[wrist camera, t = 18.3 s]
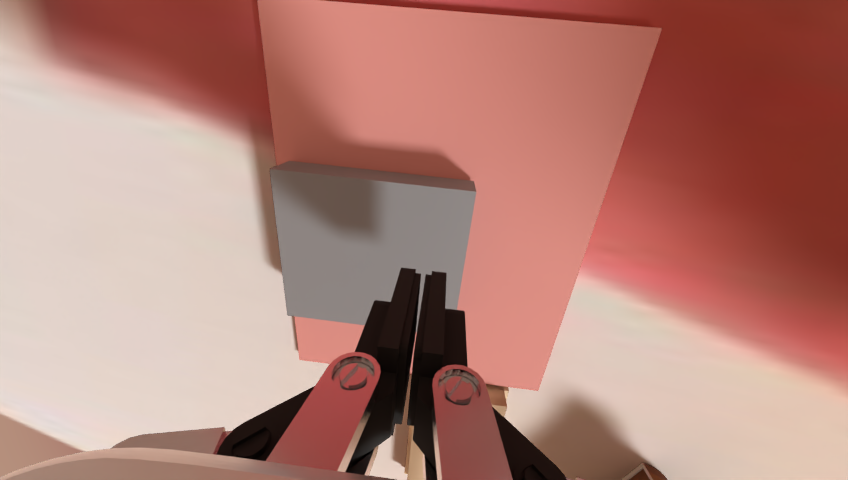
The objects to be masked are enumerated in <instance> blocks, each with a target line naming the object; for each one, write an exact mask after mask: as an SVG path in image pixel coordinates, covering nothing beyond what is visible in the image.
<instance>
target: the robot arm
mask: <svg viewBox="0 0 848 480" xmlns="http://www.w3.org/2000/svg"><path fill="white" fill-rule="evenodd" d="M446 277H447V273H445V272H436V271H432V275H428V274H426V276H425V282H424V289H423V295H422V302H421V308H420V315H419V321H418V328H417V334H416V325H417V314H418V303H419V293H420V282H421V274H420V273H416V269H410V268H402V267H401V269H400V273H399V276H398V279H397V283H396V286H395V289H394V293H393V296H392V299H391V302H388V301H379V300H375V301H374V303H373V305H372V308H371V310H370V313H369V316H368V318H367V321H366V323H365V326H364V329H363V331H362V334H361V337H360V339H359V342H358V344H357V347H356V350H355V352H351V353H346V354H344V355H341V356H339V357H338V358H336V359H335V360H333V361H332V363H331V364H330V365H329V366H328V367H327V369H326V371H325V372H324V374H323V375H322V377H321V378H320V380H319V381H318V383H317V384H316V386H314V387H312V388H310V389H308V390H306V391H304V392H302V393H300V394H299V395H297V396H295V397H293V398H291V399H289V400H287V401H285V402H283V403H281V404H279V405H277V406H275V407H273V408H271V409H269V410H268V411H266V412H264V413H262V414H260V415H258V416H256V417H254V418H252V419H250V420H248V421H246V422H244V423H243V424H241V425H240V426H238V427H237V428H235V429H234V430H233V431H225V428H224V427H221V428H210V429H199V430H188V431H176V432H165V433H154V434H143V435H139V436H135V437H130V438H128V439H126V440H124V441H122V442H120V443H118V444H116V445H115V446H113V447H112V448H111V449H103V450H94V451H87V452H81V453H76V454H72V455H68V456H63V457H59V458H54V459H50V460H47V461H43V462H40V463H37V464H33V465H30V466H28V467H25V468H22V469H20V470H16V471H14V472H11V473H9V474H6V475H4V476H2V477H0V480H395V479H388V478H381V477H374V476H369V474H370V471H371V468H372V466H373V463H374V460H375V457H376V455H377V450H378V445H379V444H381V443H382V442H384V441H385V440H386V439H388V438H389V437H390V436H391V435H393V432H394V426H395V423H396V424H402V419H403V412H404V406H405V400H406V393H407V387H408V381H409V374H410V368H411V361H412V355H413V349H414V356H413V367H412V378H411V389H410V399H409V410H408V421H407V425H410V426H414V431H413V441H414V442H415V443H416V445H417V446H418V447H419V449H420V450H421V451H422V453H423V460H422V461H423V479H424V480H572V479H569V478H566V477H565V475H564V474H563V473H562V472H561V471H560V470H559V468H558V467H557V466H556V465H555V464H554V463H553V462H552V461H550V460H549V459H548V458H547V457H546V456H545V455H544V454H543V453H542V452H541V451H540V450H539V449H538V448H536V447H535V446H534V445H533V444H532V443H531V442H530V441H529V440H528V439H527V438H526V437H525V436H524V435H522V434H521V433H520V432H519V431H518V430H517V429H516V428H515V427H514V426H513V425H512V424H511V423H510V422H508V421H507V420H506V419H505V418H504V417H503V416H502V415H501V414H500V413H499V412H498V411H497V410H496V409H494V408H493V407H492V404H491V401H490V397H489V394H488V390H487V387H486V384H485V382H484V380H483V379H482V377H481V376H480V375H479V374H478V373H477V372H475V371H474V370H472V369H471V368H468V363H467V343H466V324H465V311H462V310H454V309H446V308H445V302H446ZM415 335H416V341H415ZM414 342H415V348H414ZM575 480H585V479H582V478H579V477H576V479H575Z"/></svg>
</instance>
